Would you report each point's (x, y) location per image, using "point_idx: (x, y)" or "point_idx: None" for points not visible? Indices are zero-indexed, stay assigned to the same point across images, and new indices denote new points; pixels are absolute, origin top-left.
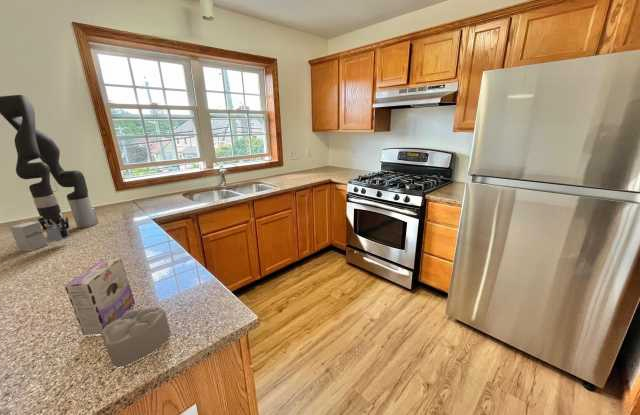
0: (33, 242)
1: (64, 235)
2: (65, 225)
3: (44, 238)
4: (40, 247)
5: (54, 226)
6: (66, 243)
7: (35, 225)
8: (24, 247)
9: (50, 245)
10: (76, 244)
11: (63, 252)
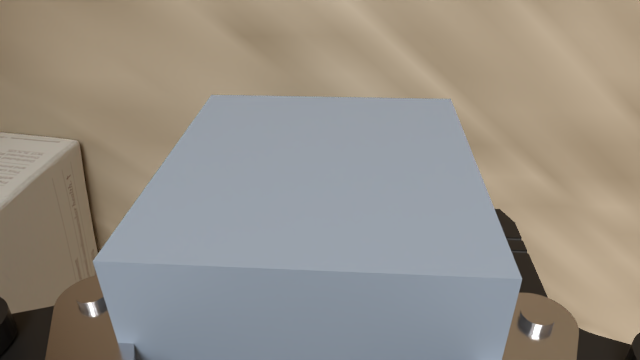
0: None
1: None
2: (498, 304)
3: (15, 205)
4: (89, 213)
5: (162, 356)
6: (325, 78)
7: None
8: None
9: (137, 145)
10: (555, 114)
11: (579, 325)
